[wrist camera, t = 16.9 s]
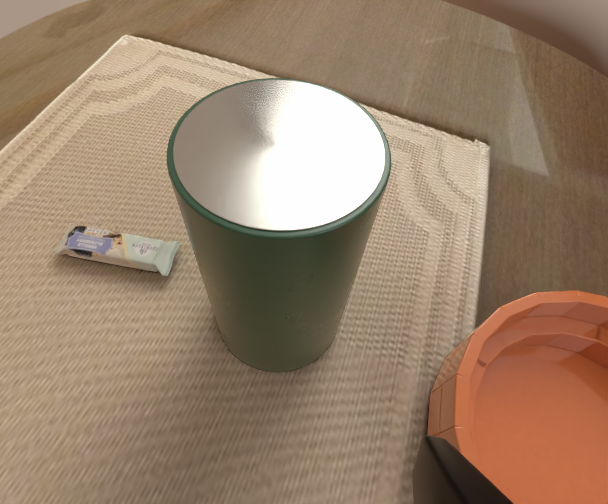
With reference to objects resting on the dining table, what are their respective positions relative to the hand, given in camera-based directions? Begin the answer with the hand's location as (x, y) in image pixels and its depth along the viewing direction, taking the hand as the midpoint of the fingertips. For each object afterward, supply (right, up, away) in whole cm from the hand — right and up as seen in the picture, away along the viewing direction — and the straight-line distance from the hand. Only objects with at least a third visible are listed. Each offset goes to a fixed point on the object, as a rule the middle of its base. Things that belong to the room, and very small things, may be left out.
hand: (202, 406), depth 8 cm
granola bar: (-8, +3, +15) cm, 18 cm away
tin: (+1, 0, +14) cm, 14 cm away
